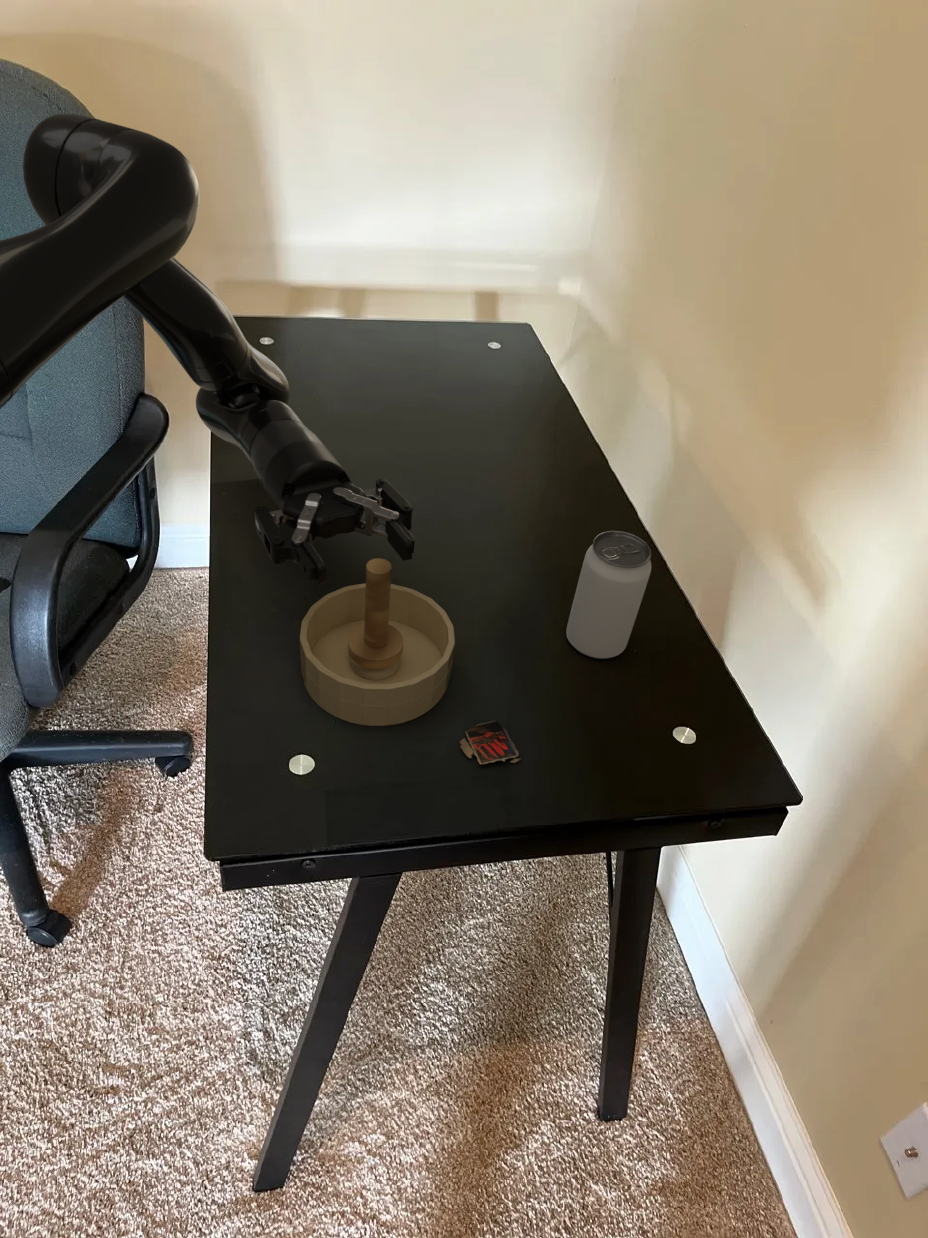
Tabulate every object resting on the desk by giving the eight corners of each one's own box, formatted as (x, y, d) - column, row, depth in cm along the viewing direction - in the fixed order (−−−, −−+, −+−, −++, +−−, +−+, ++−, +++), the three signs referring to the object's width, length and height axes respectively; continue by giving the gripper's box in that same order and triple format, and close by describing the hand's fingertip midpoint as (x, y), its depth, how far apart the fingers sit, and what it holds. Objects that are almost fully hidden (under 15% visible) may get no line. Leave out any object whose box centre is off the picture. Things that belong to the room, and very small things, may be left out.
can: (554, 625, 87) (576, 534, 79) (605, 613, 90) (632, 523, 82) (584, 667, 83) (611, 575, 75) (638, 653, 85) (669, 562, 77)
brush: (339, 674, 78) (340, 576, 70) (358, 638, 82) (360, 542, 74) (392, 687, 78) (398, 591, 70) (408, 651, 81) (416, 555, 73)
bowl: (277, 703, 76) (274, 664, 72) (334, 606, 86) (333, 569, 83) (426, 743, 74) (430, 705, 70) (465, 639, 84) (470, 603, 81)
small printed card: (493, 718, 77) (494, 715, 76) (527, 757, 74) (528, 753, 73) (451, 738, 74) (452, 735, 74) (484, 778, 71) (485, 775, 71)
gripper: (226, 453, 78) (290, 550, 69) (362, 426, 85) (439, 512, 75) (233, 517, 83) (293, 616, 74) (361, 488, 90) (433, 576, 80)
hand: (367, 564), depth 74 cm, fingers open, 8 cm apart
